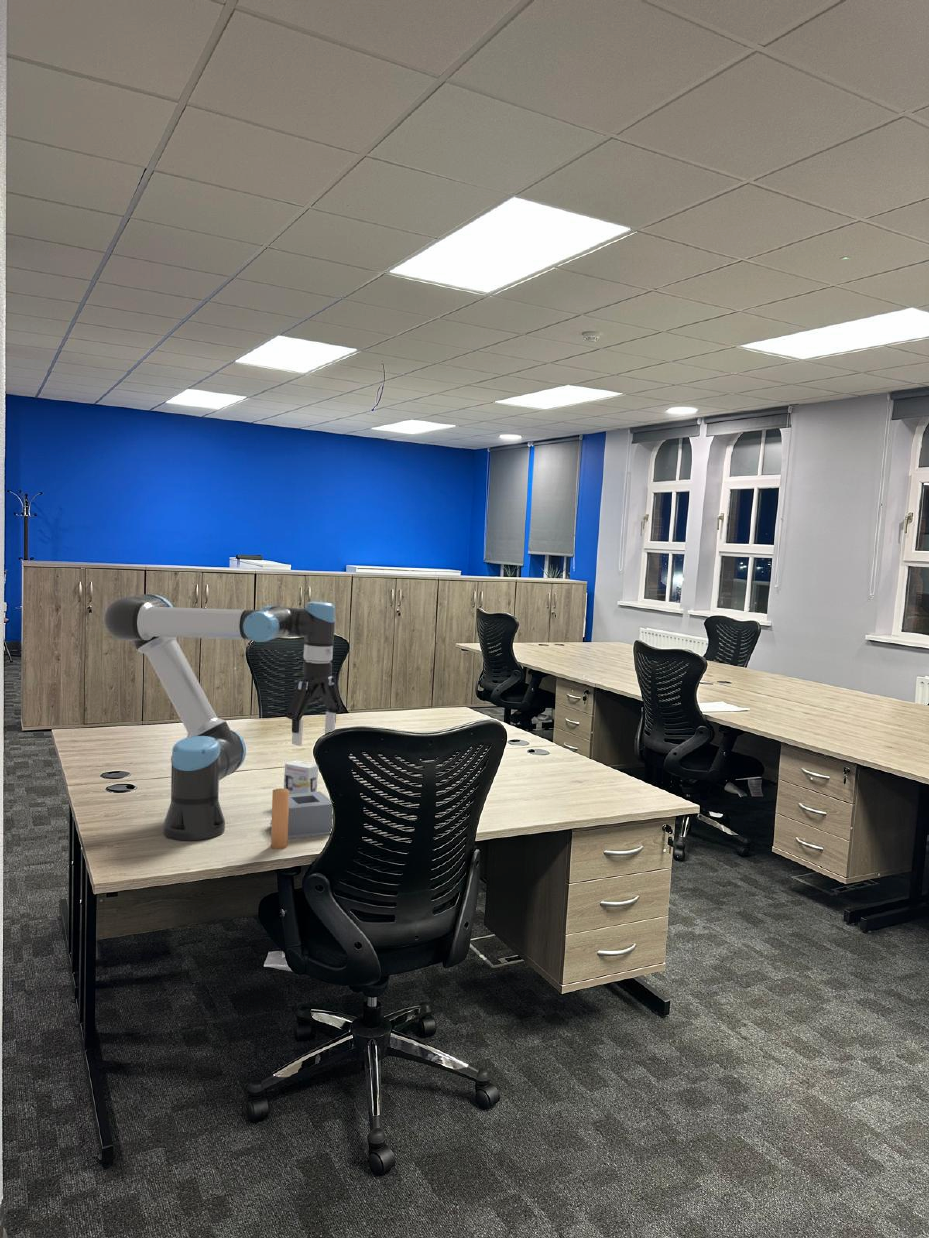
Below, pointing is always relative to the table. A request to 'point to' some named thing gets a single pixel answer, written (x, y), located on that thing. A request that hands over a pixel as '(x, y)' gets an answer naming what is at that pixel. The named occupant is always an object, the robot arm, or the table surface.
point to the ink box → (300, 777)
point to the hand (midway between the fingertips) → (313, 740)
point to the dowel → (280, 818)
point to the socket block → (309, 815)
